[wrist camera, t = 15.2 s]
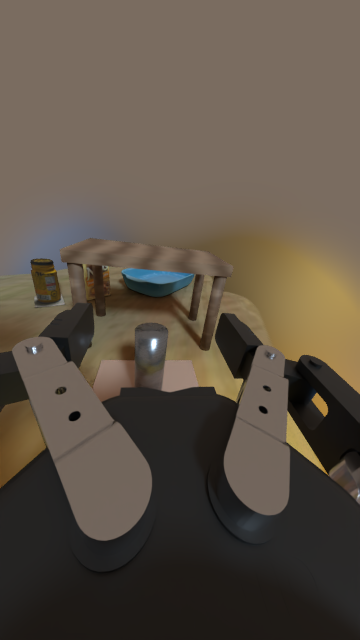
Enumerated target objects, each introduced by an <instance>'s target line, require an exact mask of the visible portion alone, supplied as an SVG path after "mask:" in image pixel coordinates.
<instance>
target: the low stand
mask: <svg viewBox="0 0 360 640" xmlns="http://www.w3.org/2000/svg"><path fill="white" fill-rule="evenodd" d="M60 254H61V260H62V262H67V266H68V273H69V279H70V286H71V293H72V299H73V306H74V305H75V304H76V303H77V302H79V303H87V298H86V289H85V280H84V271H83V264H89V265H92V270H93V281H94V292H95V303H96V314H97V316H105V315H106V313H105V297H104V282H103V267H102V266H111V267H123V268H134V269H145V270H156V271H167V272H178V273H189V274H196V277H195V283H194V289H193V295H192V301H191V307H190V313H189V319H190V320H193V321H194V320H196V318H197V313H198V307H199V302H200V297H201V291H202V286H203V280H204V275H212V276H215V277H214V281H213V286H212V291H211V295H210V300H209V305H208V310H207V314H206V319H205V324H204V329H203V333H202V338H201V343H200V349H202V350H205V351H207V350H209V348H210V344H211V340H212V336H213V332H214V328H215V324H216V319H217V315H218V311H219V307H220V303H221V299H222V295H223V290H224V286H225V282H226V278H227V277H231V275H232V271H233V266H231V265H230V264H228V263H226V262H225V261H223V260H221V259H220V258H218V257H216V256H215V255H213V254H211V253H210V252H207V251H199V250H190V249H181V248H173V247H163V246H154V245H146V244H137V243H128V242H120V241H111V240H102V239H93V238H90V239H87V240H84V241H81V242H78V243H76V244H73V245H70V246H68V247H66V248H62V249H60ZM91 346H92V342H90V344H89V347H88V348H90V347H91Z"/></svg>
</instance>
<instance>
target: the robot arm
mask: <svg viewBox="0 0 360 640" xmlns="http://www.w3.org/2000/svg"><path fill="white" fill-rule="evenodd" d="M93 335H94V317H93V306H92V304H91V303H79V302H77V303H76V304H75V305H74V307H73V308H72V309H71V310H65V311H63V312H62V313H60V314H58V315H57V316H56V317H55V318H54V320H53V321H52V322H51V323H50V324H49V325H48V326H47V327H46V328H45V330H44V331H43V332H42V333H41V334H40V335H39V336H38V337H33V338H29V339H26V340H23V341H21V342H19V343H18V344H16V345H15V346H14V347H13V349H12V351H10V352H3V353H0V412H1V410H2V409H3V407H4V406H5V405H7V404H11V403H15V402H19V401H23V400H27V399H29V402H30V404H31V407H32V410H33V412H34V415H35V418H36V421H37V423H38V426H39V429H40V431H41V434H42V437H43V440H44V443H45V445H46V449H45V450H43V451H42V452H41V453H40V454H39V455H38V456H37V457H35V458H34V459H33V460H32V461H31V462H30V463H29V464H27V465H26V466H25V467H24V468H23V469H22V470H21V471H20V472H18V473H17V474H16V475H15V476H14V477H13V478H12V479H10V480H9V481H8V482H7V483H6V484H5V485H4V486H2V487H1V488H0V640H360V394H359V393H358V392H357V391H355V390H354V389H353V388H352V387H351V386H350V385H349V384H348V383H347V382H346V381H345V380H343V379H342V378H341V377H340V376H339V375H338V374H337V373H336V372H335V371H334V370H333V369H331V368H330V367H329V366H328V365H327V364H326V363H325V362H323V361H321V360H320V359H318V358H316V357H313V356H309V355H302V356H301V357H300V359H299V361H298V362H296V361H291V360H287V359H285V357H284V355H283V354H282V353H281V352H280V351H279V350H277V349H275V348H273V347H270V346H266V345H263V344H262V342H261V341H260V340H259V339H258V338H257V337H256V335H254V333H253V332H252V331H251V330H250V328H249V327H248V326H247V325H245V324H244V323H242V322H241V321H240V320H239V319H238V318H237V317H236V316H235V314H229V313H222V314H221V316H220V319H219V323H218V326H217V330H216V334H215V340H216V343H217V345H218V347H219V349H220V351H221V353H222V355H223V357H224V359H225V361H226V363H227V365H228V367H229V369H230V371H231V373H232V375H233V377H234V378H243V380H244V381H243V383H242V385H241V388H240V391H239V394H238V397H237V399H236V402H235V401H233V400H231V399H229V398H227V397H224V396H221V395H218V394H216V391H215V388H214V387H190V388H186V389H182V390H178V391H174V392H166V391H161V390H156V389H151V388H146V387H123V388H121V390H120V395H119V396H115V397H112V398H109V399H107V400H105V401H102V402H101V401H100V400H99V398H98V397H97V396H96V394H95V393H94V391H93V390H92V388H91V387H90V385H89V384H88V382H87V381H86V380H85V378H84V377H83V375H82V374H81V372H80V371H79V366H80V364H81V362H82V360H83V358H84V355H85V353H86V351H87V349H88V347H89V344H90V342H91V340H92V338H93ZM316 393H318V394H319V395H320V396H321V398H323V400H324V401H325V402H326V404H327V406H328V414H327V415H326V416H325V417H324V416H323V414H322V413H321V412H320V411H319V409H318V408H317V407H316V406H315V404H314V403H313V402H312V398H313V397H314V396H315V394H316ZM287 410H288V412H289V413H290V415H291V417H292V418H293V420H294V421H295V423H296V425H297V426H298V428H299V429H300V431H301V432H302V434H303V436H304V437H305V439H306V440H307V442H308V444H309V445H310V447H311V448H312V450H313V451H314V453H315V455H316V456H317V458H318V459H319V461H320V462H321V464H322V466H323V467H324V469H325V470H326V472H327V474H328V475H329V476H328V475H327V474H326V473H324V472H323V471H322V470H321V469H319V468H318V467H317V466H316V465H314V464H313V463H312V462H311V461H309V460H308V459H307V458H306V457H304V456H303V455H302V454H301V453H299V452H298V451H297V450H296V449H294V448H293V447H292V446H291V445H289V444H288V443H287V442H286V429H287Z"/></svg>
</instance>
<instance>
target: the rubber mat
mask: <svg viewBox="0 0 360 640" xmlns="http://www.w3.org/2000/svg"><path fill="white" fill-rule="evenodd" d="M134 381H135V360H102V361H101V364H100V367H99V370H98V373H97V376H96V379H95V382H94V385H93V388H92V390H93V391H94V393H95V394H96V396H97V397H98V398H99V400H100V401H101V402H102V401H105V400H107V399H109V398H112V397H115V396H119V395H120V390H121V388H123V387H134ZM190 387H199V386H198V382H197V379H196V375H195V372H194V368H193V365H192V361H189V360H165V366H164V375H163V385H162V391H166V392H174V391H178V390H182V389H186V388H190Z"/></svg>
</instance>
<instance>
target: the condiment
mask: <svg viewBox="0 0 360 640" xmlns="http://www.w3.org/2000/svg"><path fill="white" fill-rule="evenodd" d="M31 265H32V270H31V274H32V278H33V282H34V287H35V291H36V295H37V296H36V297H34V300H35V307H48V306H56V305H64V304H65V303H64V300H63V297H62V294H60V289H59V283H58V278H57V272H56V270H55V269H54V265H53V261H52V260H50V259H33V260H31Z"/></svg>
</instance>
